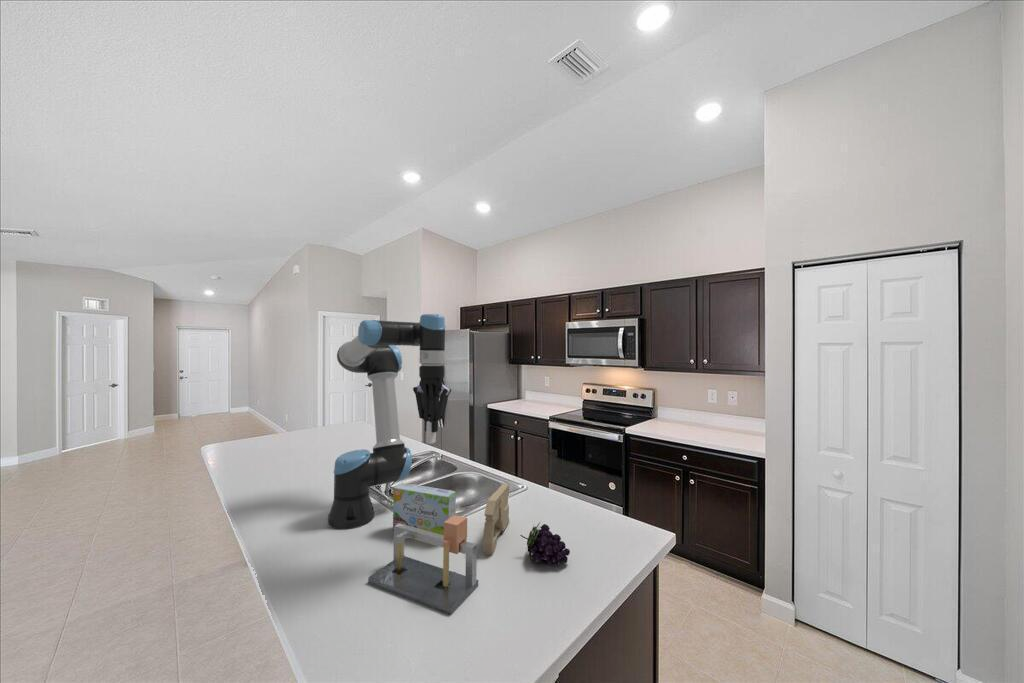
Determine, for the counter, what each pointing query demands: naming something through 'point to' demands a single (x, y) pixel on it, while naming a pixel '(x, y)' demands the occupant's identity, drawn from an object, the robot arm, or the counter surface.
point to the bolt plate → (423, 584)
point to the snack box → (423, 507)
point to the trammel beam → (435, 539)
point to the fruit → (546, 546)
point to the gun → (495, 518)
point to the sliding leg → (452, 541)
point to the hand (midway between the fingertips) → (431, 442)
